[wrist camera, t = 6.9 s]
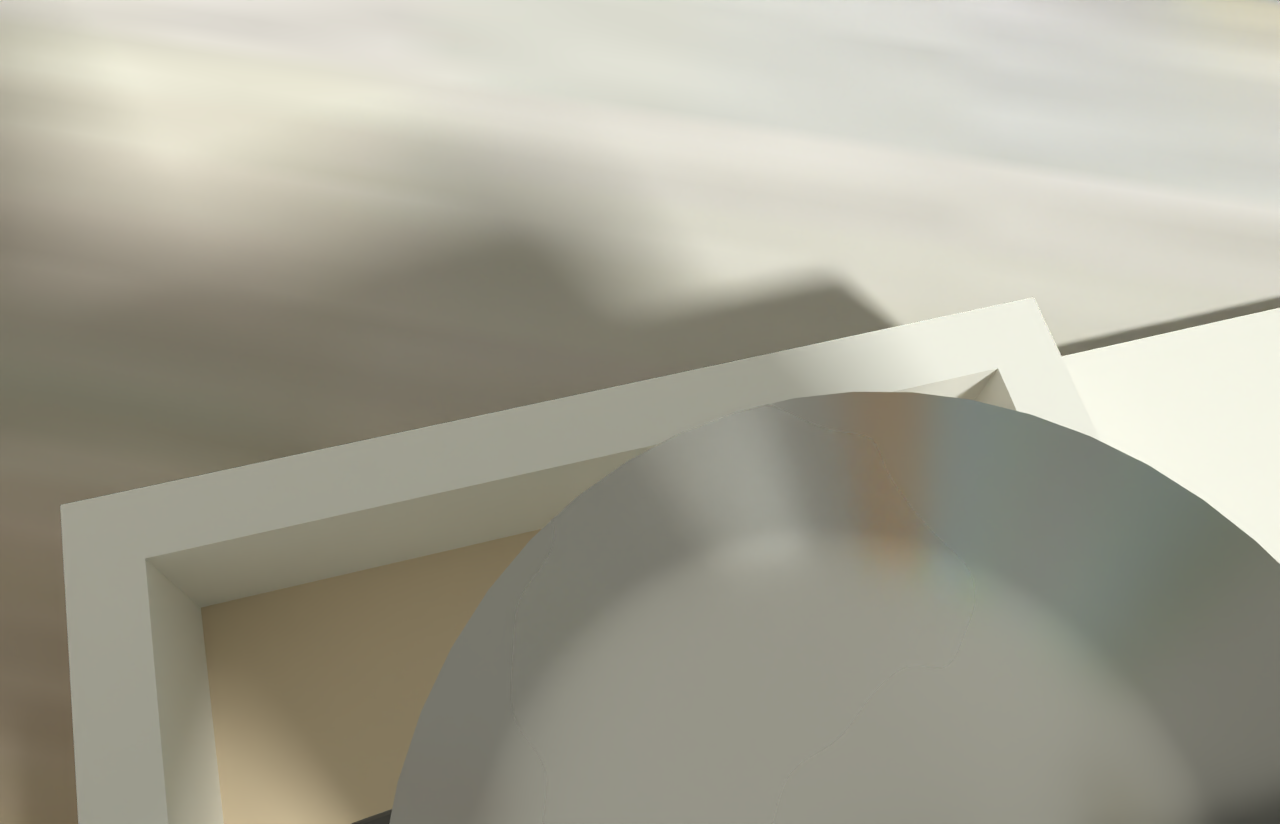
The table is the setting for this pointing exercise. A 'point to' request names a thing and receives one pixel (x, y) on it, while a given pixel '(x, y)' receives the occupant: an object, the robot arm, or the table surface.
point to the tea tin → (866, 637)
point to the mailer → (514, 547)
